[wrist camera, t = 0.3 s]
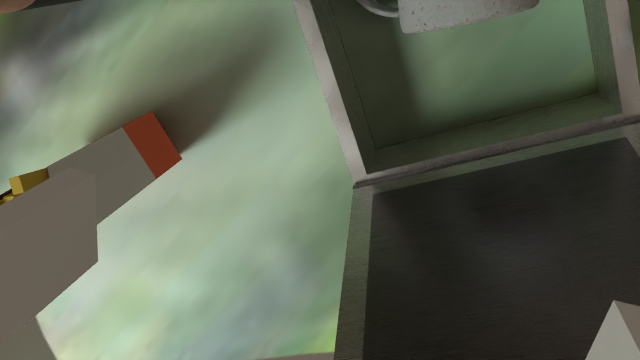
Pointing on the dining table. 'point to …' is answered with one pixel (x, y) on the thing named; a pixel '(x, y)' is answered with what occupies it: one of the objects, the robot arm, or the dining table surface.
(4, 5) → the travel mug
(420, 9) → the ceramic mug
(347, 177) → the dining table surface
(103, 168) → the french fries container
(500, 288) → the equipment case
